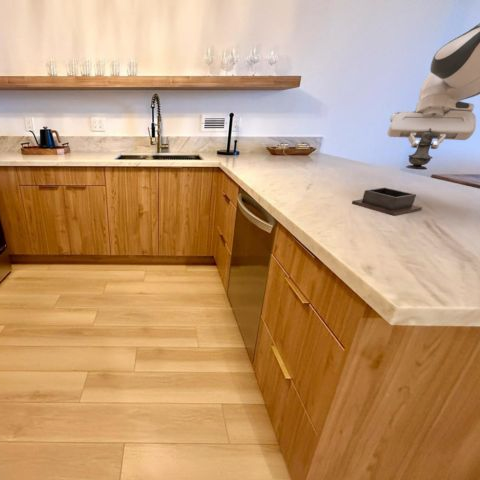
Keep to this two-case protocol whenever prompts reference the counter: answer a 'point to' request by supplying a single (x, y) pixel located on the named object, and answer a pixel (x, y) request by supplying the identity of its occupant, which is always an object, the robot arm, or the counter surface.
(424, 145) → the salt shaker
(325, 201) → the counter surface
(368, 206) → the dark grey square tray
